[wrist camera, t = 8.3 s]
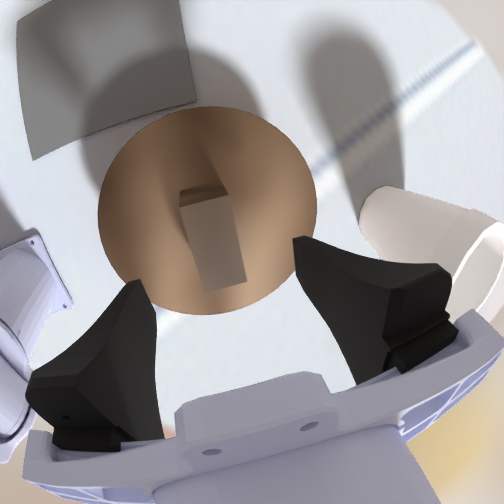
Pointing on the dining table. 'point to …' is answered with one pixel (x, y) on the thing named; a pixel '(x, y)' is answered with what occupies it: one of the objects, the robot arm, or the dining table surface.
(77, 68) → the mat
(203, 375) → the dining table surface
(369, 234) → the foam cup
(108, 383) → the robot arm
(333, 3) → the dining table surface
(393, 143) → the dining table surface
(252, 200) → the lid
